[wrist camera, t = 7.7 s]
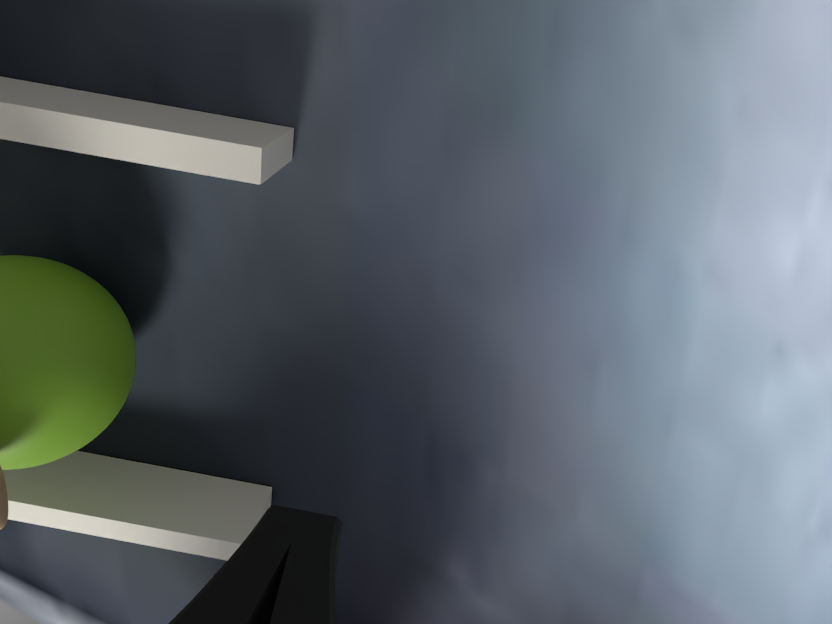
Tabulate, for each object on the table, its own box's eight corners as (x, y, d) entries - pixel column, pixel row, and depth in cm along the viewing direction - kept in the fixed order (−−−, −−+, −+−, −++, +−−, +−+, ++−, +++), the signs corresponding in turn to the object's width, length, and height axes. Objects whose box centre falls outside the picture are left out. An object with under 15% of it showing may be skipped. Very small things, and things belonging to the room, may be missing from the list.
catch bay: (271, 504, 21) (245, 564, 19) (-38, 447, 21) (-100, 499, 19) (294, 127, 15) (261, 148, 13) (-128, 53, 15) (-232, 61, 13)
